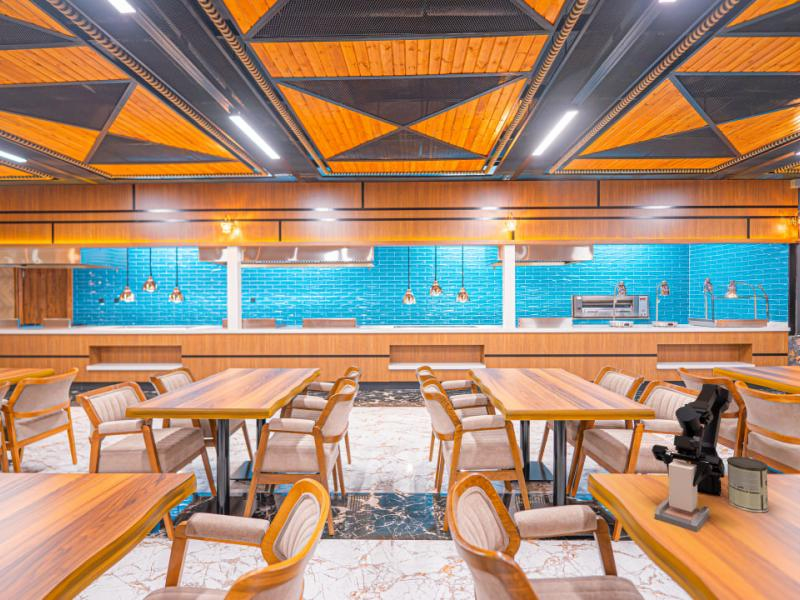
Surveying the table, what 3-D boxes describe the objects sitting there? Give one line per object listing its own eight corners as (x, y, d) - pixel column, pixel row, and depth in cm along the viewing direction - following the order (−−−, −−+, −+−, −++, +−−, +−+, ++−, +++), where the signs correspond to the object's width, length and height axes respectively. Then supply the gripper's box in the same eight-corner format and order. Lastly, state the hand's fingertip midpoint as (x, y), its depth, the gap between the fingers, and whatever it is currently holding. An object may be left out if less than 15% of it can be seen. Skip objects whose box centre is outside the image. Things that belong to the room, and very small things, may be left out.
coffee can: (724, 496, 149) (723, 454, 149) (762, 502, 145) (761, 458, 145) (732, 509, 140) (731, 464, 140) (773, 515, 135) (772, 469, 136)
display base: (697, 531, 126) (696, 521, 126) (654, 518, 134) (654, 508, 134) (709, 517, 135) (708, 507, 135) (668, 505, 143) (668, 496, 143)
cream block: (675, 500, 140) (674, 460, 140) (697, 506, 135) (696, 465, 136) (669, 505, 136) (668, 464, 136) (691, 512, 131) (691, 469, 132)
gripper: (653, 419, 146) (641, 461, 138) (721, 430, 132) (712, 477, 124) (661, 438, 151) (650, 479, 143) (728, 451, 137) (720, 497, 129)
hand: (681, 483), depth 135 cm, fingers closed on cream block, 6 cm apart
